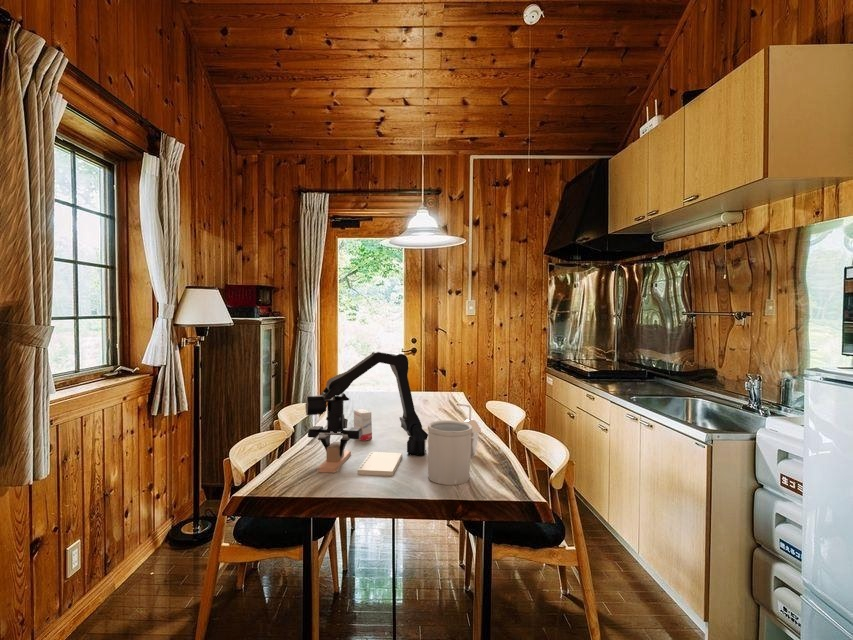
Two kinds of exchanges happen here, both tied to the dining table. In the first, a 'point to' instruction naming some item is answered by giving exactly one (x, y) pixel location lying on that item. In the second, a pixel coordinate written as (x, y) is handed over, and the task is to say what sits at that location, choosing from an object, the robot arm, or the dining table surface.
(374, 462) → the board
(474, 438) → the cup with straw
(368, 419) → the ink box
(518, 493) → the dining table surface
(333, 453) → the stub
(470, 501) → the dining table surface
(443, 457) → the utensil holder
